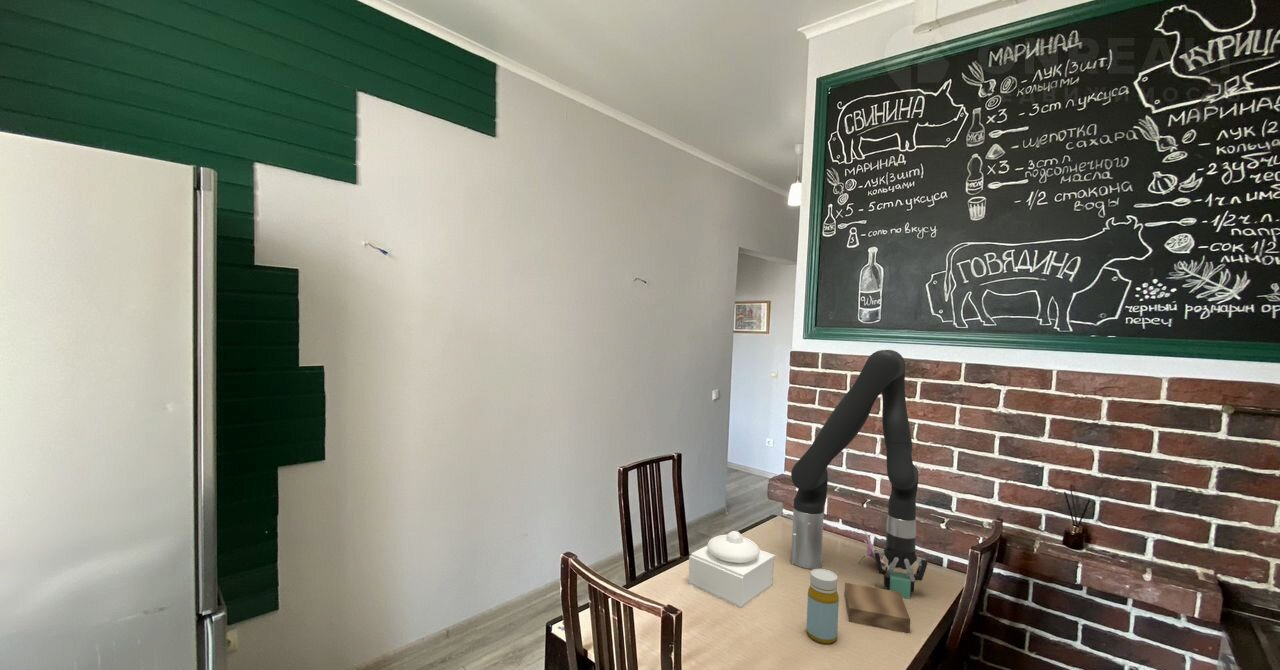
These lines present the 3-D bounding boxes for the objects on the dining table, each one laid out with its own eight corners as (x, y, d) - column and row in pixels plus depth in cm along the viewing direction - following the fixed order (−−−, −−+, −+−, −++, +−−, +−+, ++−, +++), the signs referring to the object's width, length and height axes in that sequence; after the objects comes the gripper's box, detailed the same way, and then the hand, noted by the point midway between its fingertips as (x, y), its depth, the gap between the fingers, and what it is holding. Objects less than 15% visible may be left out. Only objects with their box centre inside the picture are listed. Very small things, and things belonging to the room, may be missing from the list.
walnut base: (848, 623, 128) (849, 607, 128) (844, 596, 142) (844, 582, 142) (909, 635, 124) (910, 619, 124) (899, 606, 137) (899, 592, 137)
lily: (871, 580, 153) (889, 555, 152) (839, 552, 161) (856, 528, 160) (884, 580, 161) (902, 556, 160) (853, 553, 169) (870, 530, 168)
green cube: (890, 595, 142) (891, 578, 142) (887, 587, 147) (888, 570, 147) (909, 599, 141) (910, 581, 141) (906, 590, 145) (907, 573, 145)
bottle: (801, 627, 125) (804, 567, 125) (828, 627, 126) (831, 567, 126) (813, 645, 118) (816, 581, 118) (842, 644, 119) (844, 581, 119)
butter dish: (688, 584, 145) (690, 529, 145) (723, 564, 158) (724, 514, 158) (741, 609, 133) (743, 549, 133) (773, 585, 146) (776, 531, 146)
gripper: (875, 532, 142) (873, 592, 142) (932, 541, 138) (930, 602, 138) (871, 523, 149) (869, 580, 150) (925, 530, 145) (923, 589, 145)
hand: (898, 590), depth 144 cm, fingers closed on green cube, 5 cm apart
